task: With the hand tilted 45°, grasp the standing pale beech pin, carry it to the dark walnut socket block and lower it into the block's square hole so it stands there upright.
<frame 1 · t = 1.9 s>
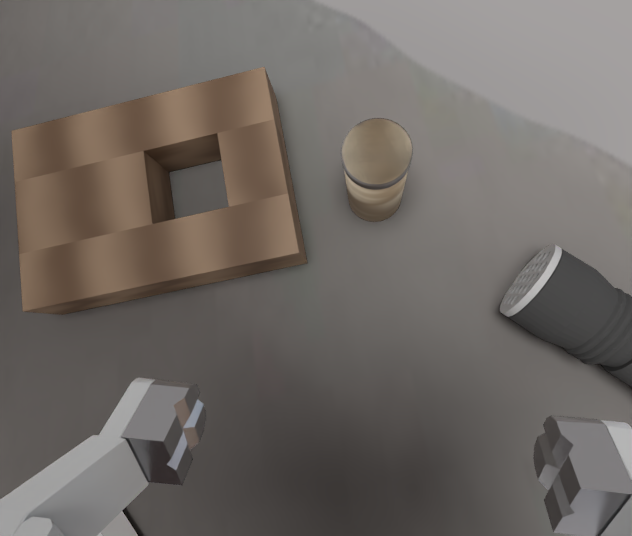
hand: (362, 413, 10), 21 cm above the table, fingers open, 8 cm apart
flashlight: (605, 345, 29), on the table
beech pin: (374, 196, 32), on the table
socket block: (170, 204, 34), on the table
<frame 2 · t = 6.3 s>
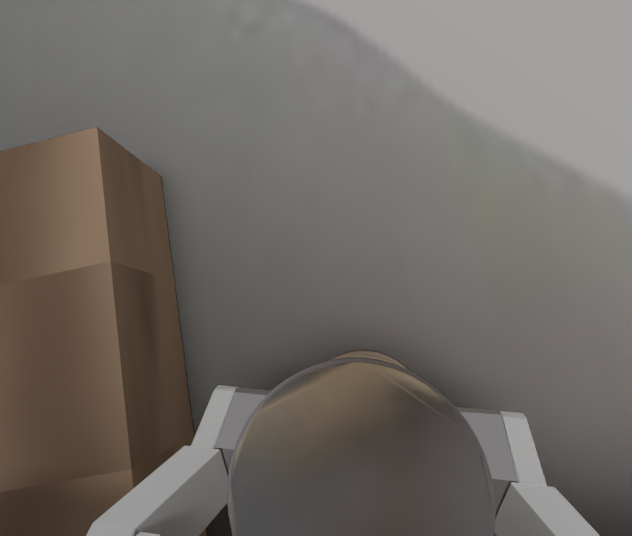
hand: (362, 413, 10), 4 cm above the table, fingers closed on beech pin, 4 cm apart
beech pin: (364, 410, 14), on the table, touching gripper
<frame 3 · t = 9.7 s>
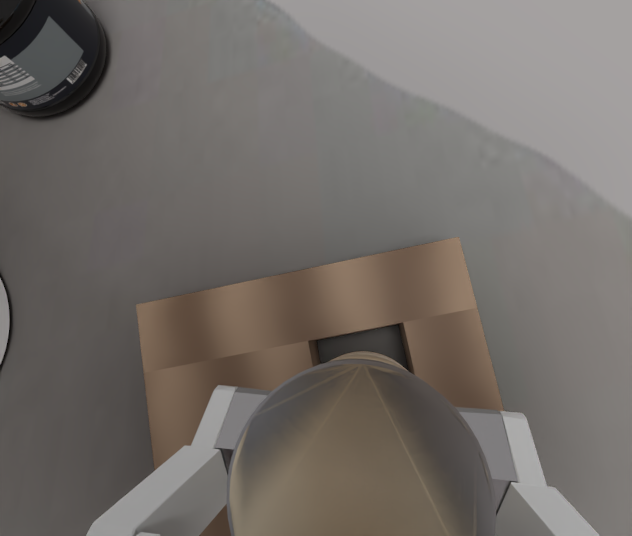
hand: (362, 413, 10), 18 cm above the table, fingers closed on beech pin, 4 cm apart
beech pin: (363, 411, 14), point 14 cm above the table, touching gripper
socket block: (321, 383, 28), on the table
supplement container: (55, 64, 35), on the table
when the fingers open (6 cm above the table, at t = 13.0 s): beech pin drops 2 cm, resting in socket block.
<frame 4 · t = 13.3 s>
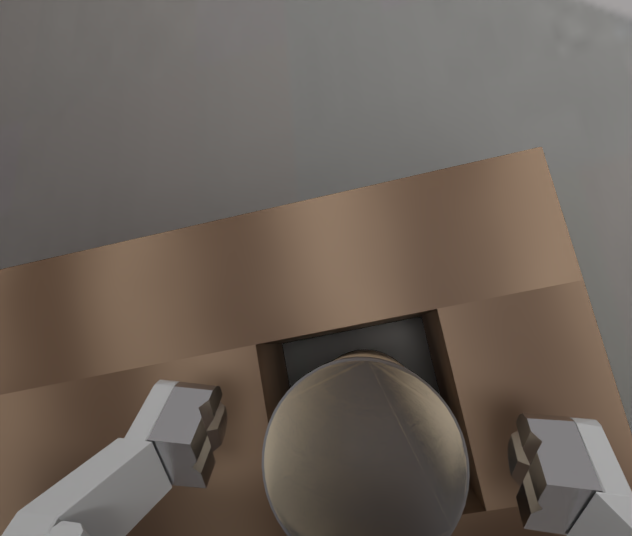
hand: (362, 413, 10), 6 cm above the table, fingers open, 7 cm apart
beech pin: (366, 403, 16), resting in socket block
socket block: (289, 416, 17), on the table
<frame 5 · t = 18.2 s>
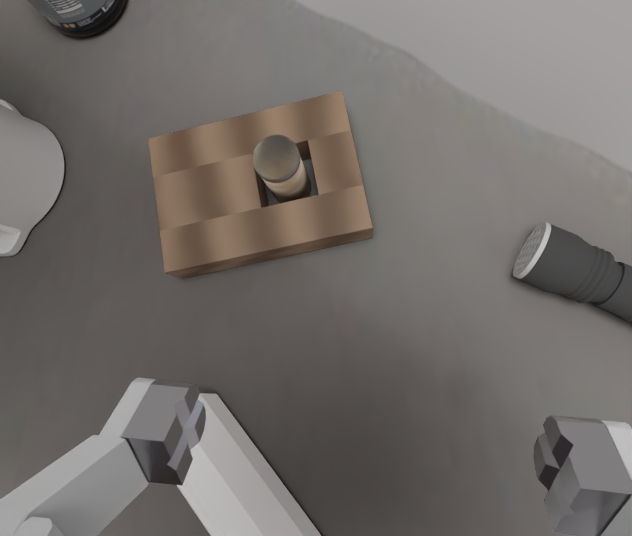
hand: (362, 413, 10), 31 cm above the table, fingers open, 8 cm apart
flashlight: (593, 289, 40), on the table
white faceted prism: (251, 500, 41), on the table
beech pin: (292, 188, 45), resting in socket block
socket block: (264, 194, 45), on the table
supplement container: (91, 3, 52), on the table
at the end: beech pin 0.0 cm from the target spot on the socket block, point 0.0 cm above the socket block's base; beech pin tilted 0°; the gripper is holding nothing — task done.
